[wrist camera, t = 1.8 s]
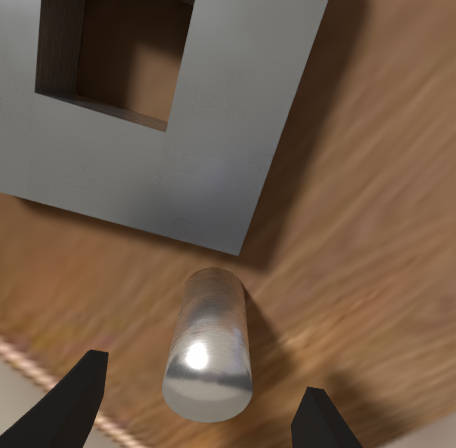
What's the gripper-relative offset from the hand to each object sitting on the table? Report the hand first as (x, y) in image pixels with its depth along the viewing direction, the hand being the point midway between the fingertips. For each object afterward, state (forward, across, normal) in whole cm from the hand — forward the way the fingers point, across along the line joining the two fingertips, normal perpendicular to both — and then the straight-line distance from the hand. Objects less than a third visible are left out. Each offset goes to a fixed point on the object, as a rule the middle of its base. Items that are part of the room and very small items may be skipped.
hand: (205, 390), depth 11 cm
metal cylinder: (+6, 0, 0) cm, 6 cm away
